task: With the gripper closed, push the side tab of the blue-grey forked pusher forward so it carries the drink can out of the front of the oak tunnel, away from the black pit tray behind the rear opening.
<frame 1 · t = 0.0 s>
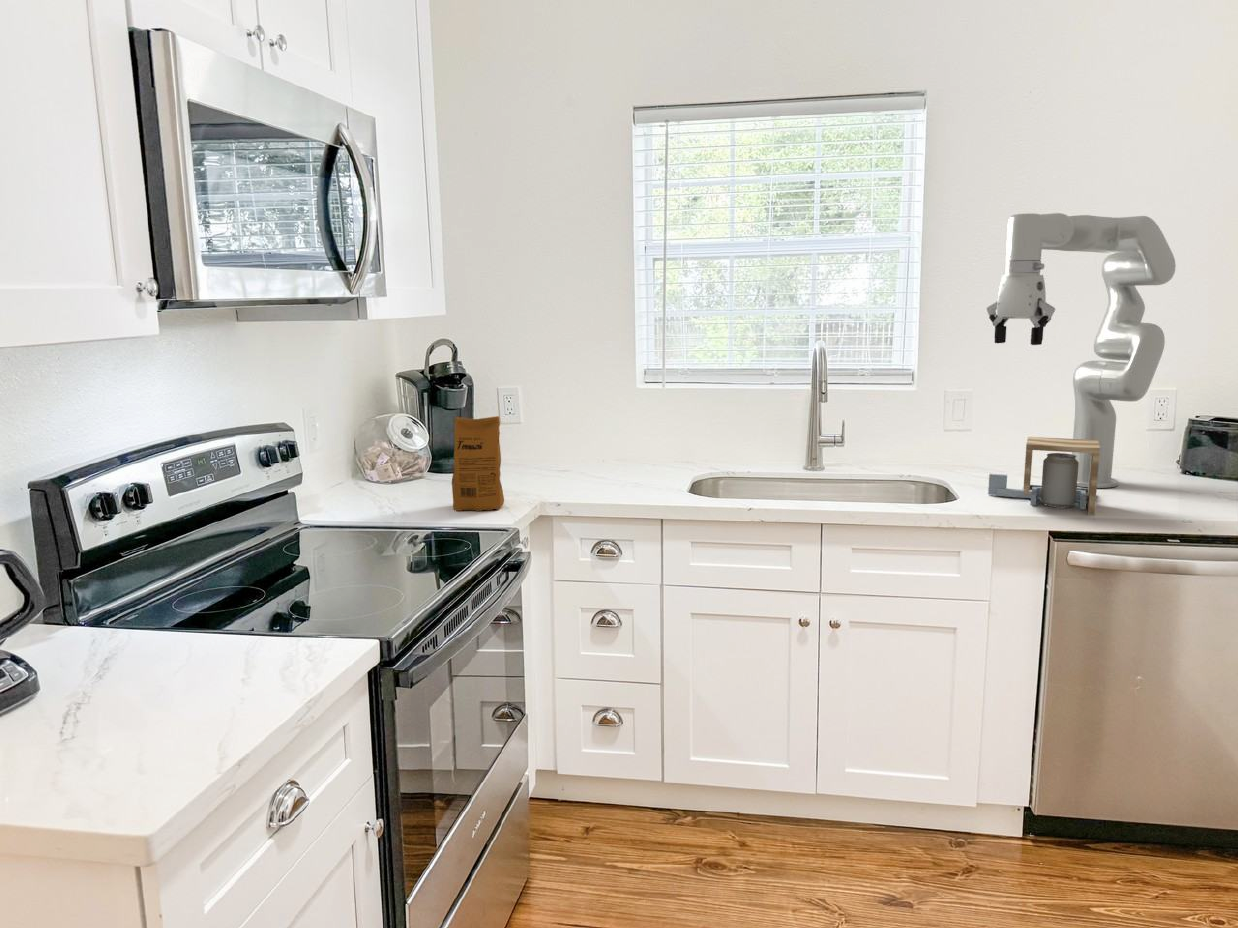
hand: (1017, 343, 219), 37 cm above the worktop, tool pointing down, fingers open, 9 cm apart
pit: (1057, 495, 229), on the worktop
blue-grey forked pusher: (1035, 490, 222), point 3 cm above the worktop, slide at 0.0 cm
can: (1057, 505, 220), on the worktop
tunnel: (1057, 506, 217), on the worktop
coffee package: (478, 508, 225), on the worktop
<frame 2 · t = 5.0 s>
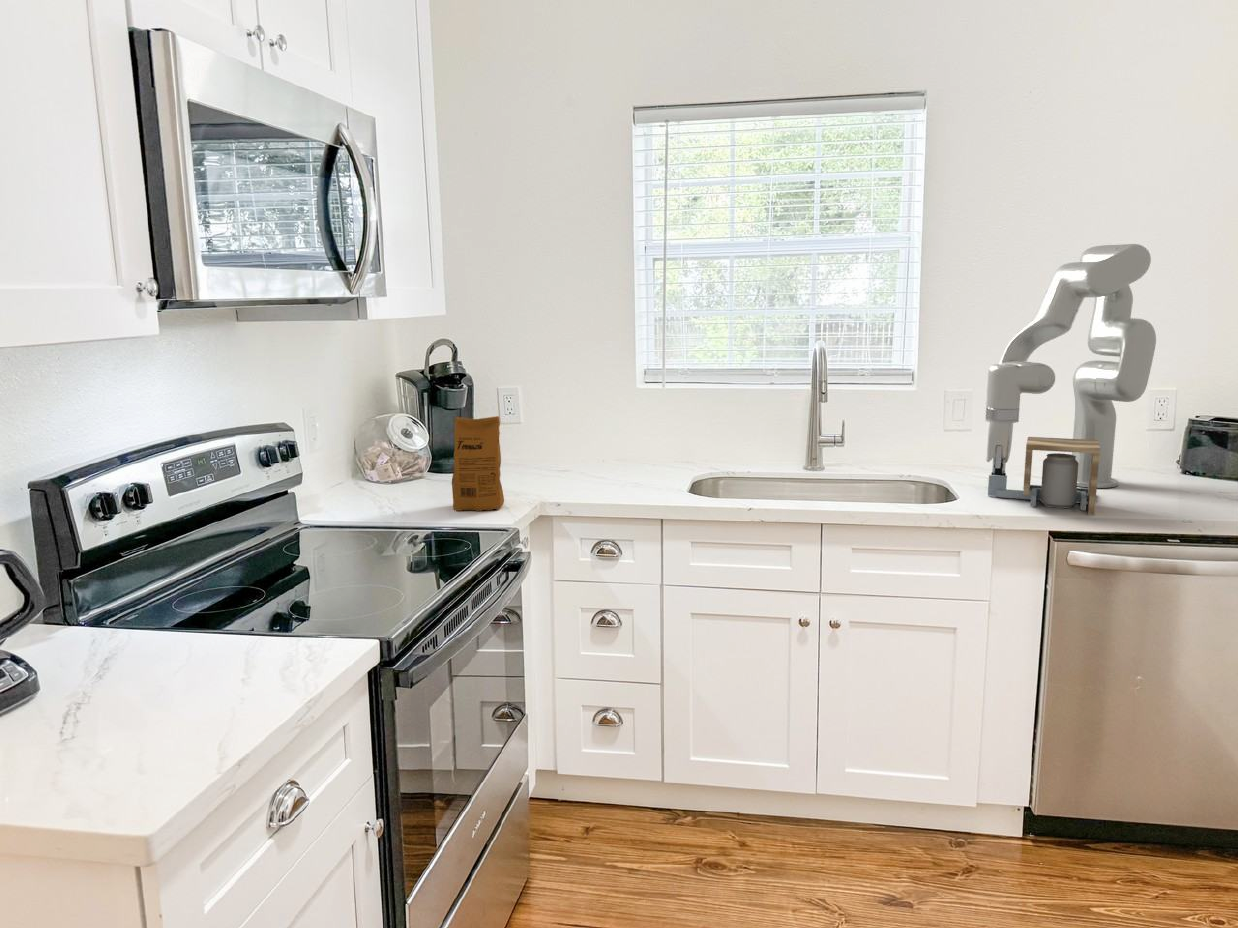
hand: (997, 488, 231), 1 cm above the worktop, tool pointing down, fingers closed
blue-grey forked pusher: (1035, 491, 221), point 3 cm above the worktop, slide at 1.3 cm, touching can, gripper
can: (1057, 506, 219), on the worktop, touching blue-grey forked pusher
everything else where it was.
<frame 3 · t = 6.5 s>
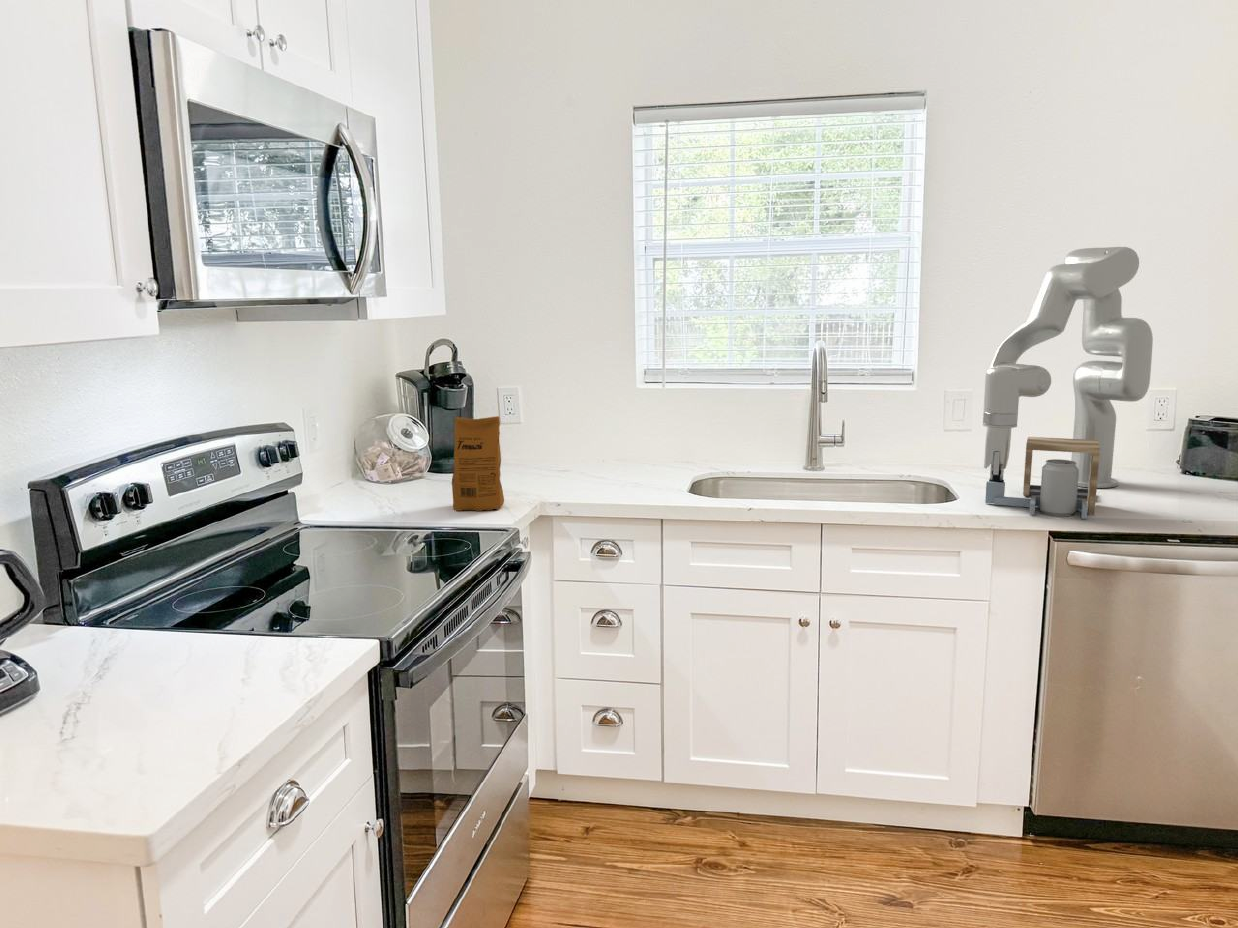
hand: (995, 495, 223), 1 cm above the worktop, tool pointing down, fingers closed
blue-grey forked pusher: (1034, 499, 213), point 3 cm above the worktop, slide at 10.0 cm, touching can, gripper
can: (1057, 514, 211), on the worktop, touching blue-grey forked pusher
everything else where it was.
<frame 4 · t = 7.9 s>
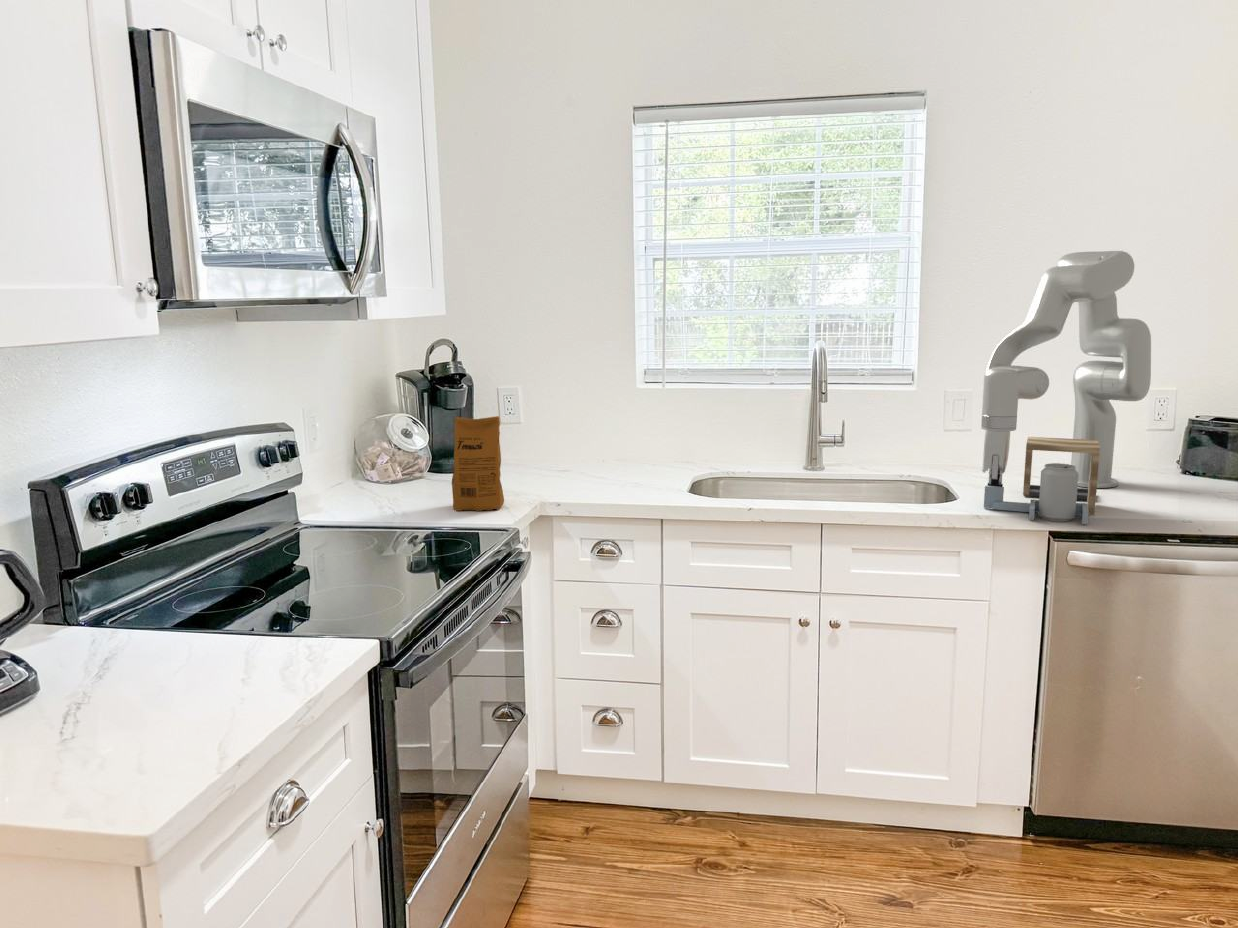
hand: (994, 500, 219), 1 cm above the worktop, tool pointing down, fingers closed
blue-grey forked pusher: (1034, 504, 208), point 3 cm above the worktop, slide at 15.2 cm, touching can, gripper
can: (1056, 519, 207), on the worktop, touching blue-grey forked pusher
everything else where it was.
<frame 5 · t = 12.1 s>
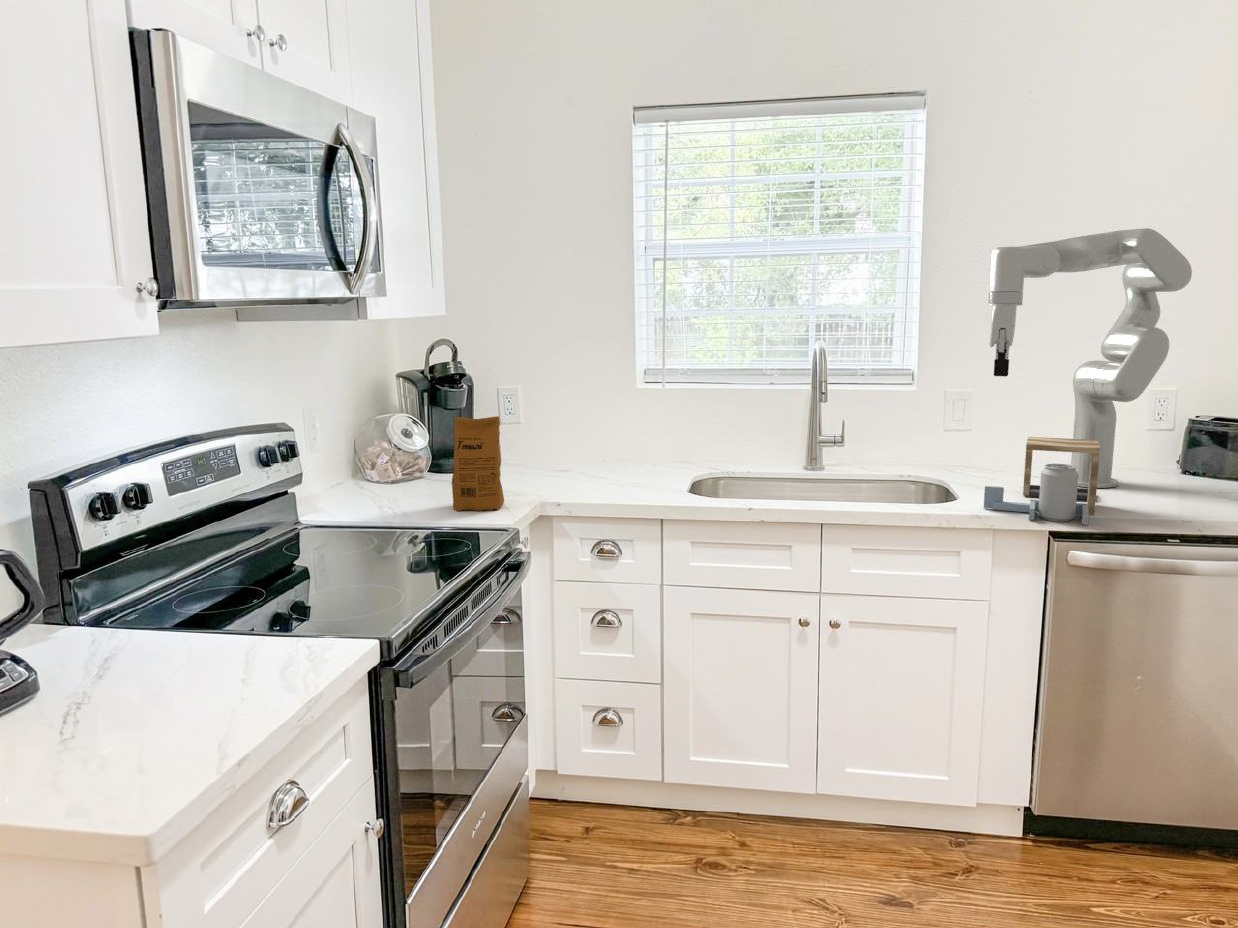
hand: (1000, 375, 228), 29 cm above the worktop, tool pointing down, fingers closed
blue-grey forked pusher: (1034, 504, 208), point 3 cm above the worktop, slide at 15.4 cm
can: (1056, 519, 207), on the worktop
everything else where it was.
at the end: blue-grey forked pusher slide at 15.4 cm; can inside the target area on the worktop beside the tunnel (4.7 cm from its centre), on the worktop; can tilted 0° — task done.
